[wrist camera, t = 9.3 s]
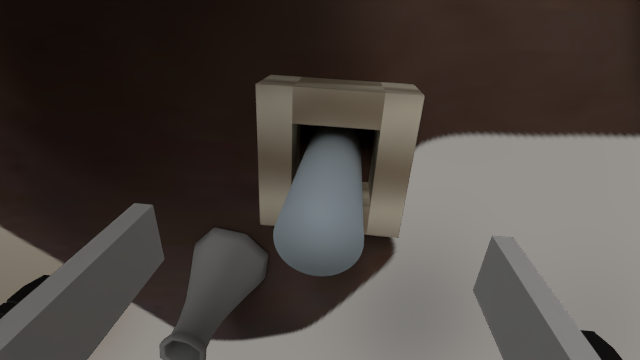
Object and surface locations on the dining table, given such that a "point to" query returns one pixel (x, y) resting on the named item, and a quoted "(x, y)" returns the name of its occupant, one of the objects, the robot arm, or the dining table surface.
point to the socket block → (338, 111)
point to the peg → (324, 206)
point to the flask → (214, 290)
